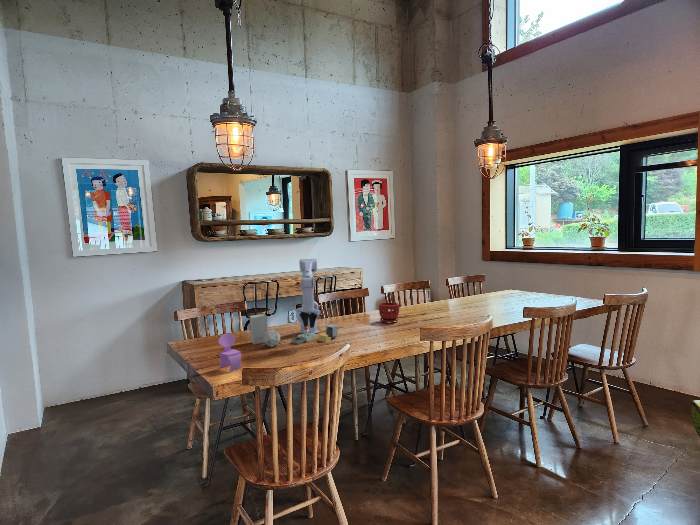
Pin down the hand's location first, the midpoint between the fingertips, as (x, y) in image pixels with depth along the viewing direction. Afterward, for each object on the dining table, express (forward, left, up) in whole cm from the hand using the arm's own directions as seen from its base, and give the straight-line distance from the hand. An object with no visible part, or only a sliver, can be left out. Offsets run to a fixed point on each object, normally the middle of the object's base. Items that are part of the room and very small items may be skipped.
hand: (309, 327), depth 216 cm
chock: (0, +12, -10) cm, 16 cm away
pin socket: (-10, +2, -10) cm, 14 cm away
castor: (0, +18, -10) cm, 21 cm away
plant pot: (+5, +70, -10) cm, 70 cm away
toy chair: (-5, -45, -10) cm, 47 cm away
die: (-17, -10, -10) cm, 22 cm away
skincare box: (-28, -9, -10) cm, 31 cm away
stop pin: (-10, +8, -9) cm, 16 cm away
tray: (-10, +9, -10) cm, 16 cm away
